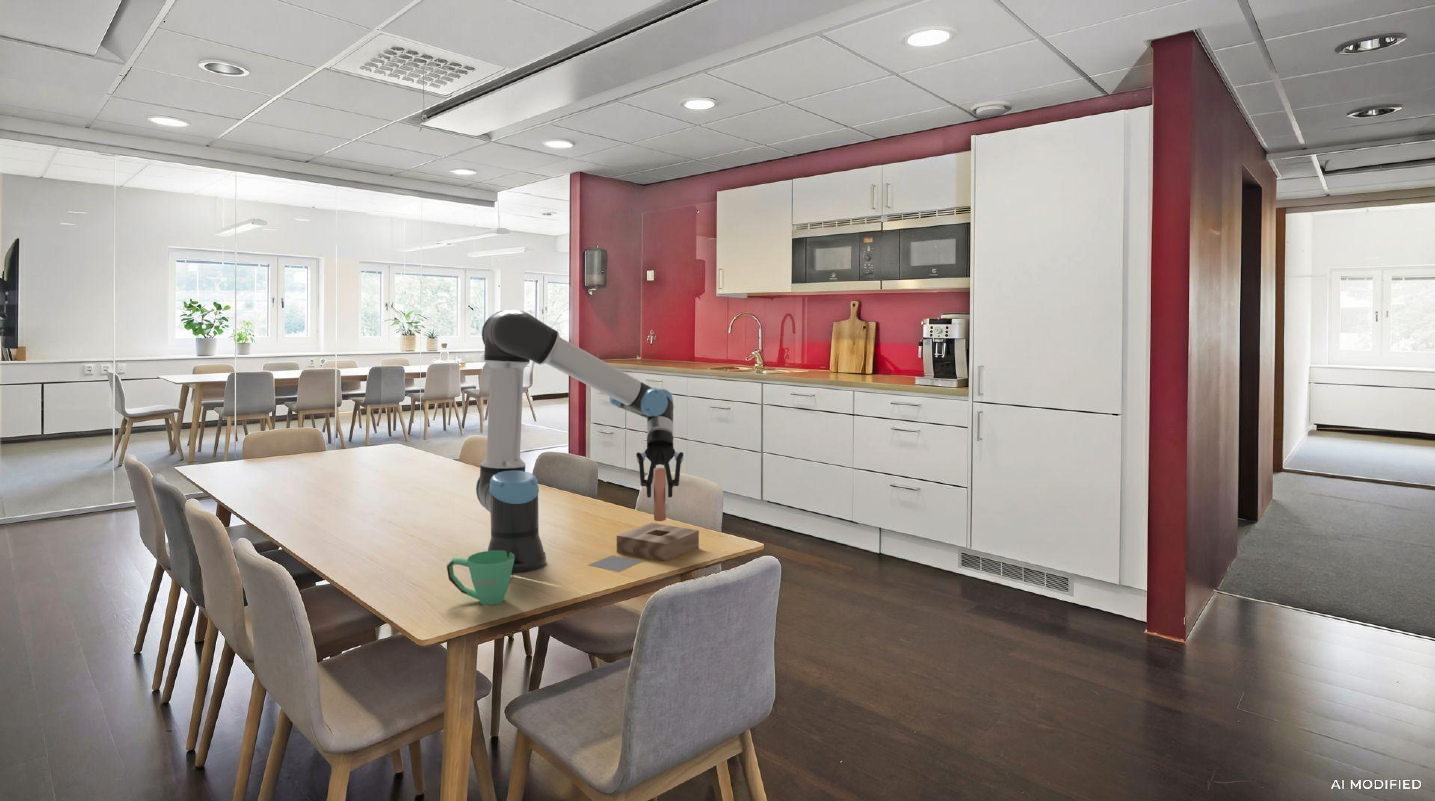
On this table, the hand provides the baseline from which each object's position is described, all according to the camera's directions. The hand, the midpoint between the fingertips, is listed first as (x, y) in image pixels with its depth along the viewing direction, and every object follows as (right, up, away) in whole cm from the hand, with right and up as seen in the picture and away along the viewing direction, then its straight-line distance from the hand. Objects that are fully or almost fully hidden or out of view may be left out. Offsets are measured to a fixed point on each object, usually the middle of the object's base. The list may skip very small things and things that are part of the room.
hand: (659, 506), depth 198 cm
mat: (-11, -14, -8) cm, 19 cm away
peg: (0, -4, +4) cm, 6 cm away
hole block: (-1, -13, +5) cm, 14 cm away
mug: (-37, -16, -34) cm, 53 cm away
